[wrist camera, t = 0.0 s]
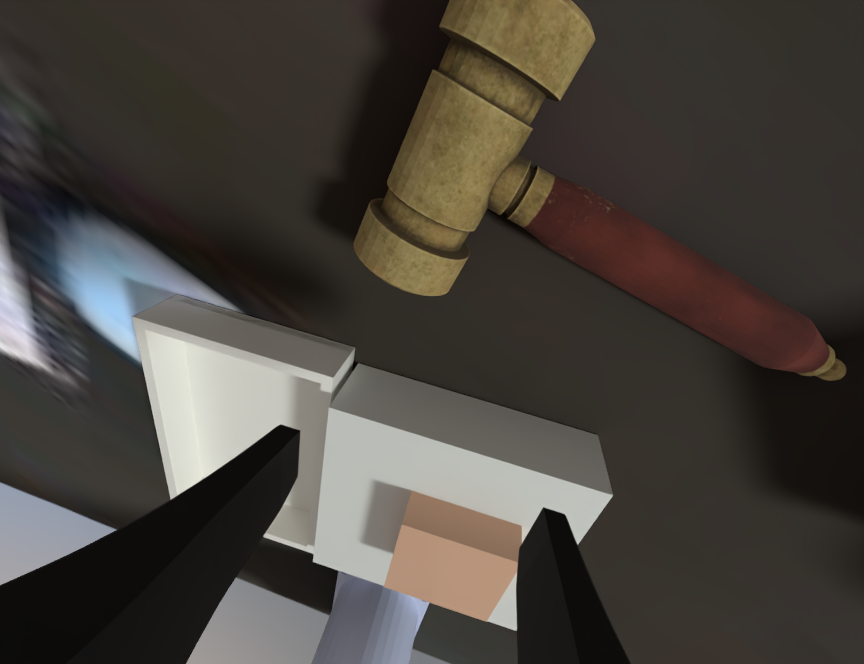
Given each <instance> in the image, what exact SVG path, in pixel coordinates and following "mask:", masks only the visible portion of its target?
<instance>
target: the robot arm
mask: <svg viewBox="0 0 864 664" xmlns="http://www.w3.org/2000/svg"><path fill="white" fill-rule="evenodd" d="M299 447H300V430H297V429H294V428H291V427H288V426H285V425H281V424H280V425H278V426H277V427H275V428H274V429H273V430H271V431H270V432H269V433H267V434H266V435H265V436H263V437H262V438H261V439H259V440H258V441H257V442H255V443H254V444H253V445H251V446H250V447H249V448H247V449H246V450H244V451H243V452H242V453H240V454H239V455H237V456H236V457H235V458H233V459H232V460H230V461H229V462H227V463H226V464H225V465H223V466H222V467H220V468H219V469H217V470H216V471H214V472H213V473H211V474H210V475H209V476H207V477H206V478H204V479H202V480H201V481H199V482H198V483H196V484H195V485H193V486H191V487H190V488H188V489H187V490H185V491H184V492H182V493H180V494H179V495H177V496H176V497H174V498H172V499H171V500H169V501H168V502H166V503H164V504H163V505H161V506H159V507H157V508H156V509H154V510H152V511H151V512H149V513H147V514H145V515H144V516H142V517H140V518H138V519H136V520H135V521H133V522H131V523H129V524H127V525H126V526H124V527H122V528H120V529H118V530H116V531H114V532H112V533H110V534H108V535H106V536H104V537H103V538H101V539H99V540H97V541H95V542H93V543H91V544H89V545H87V546H85V547H83V548H81V549H79V550H77V551H75V552H73V553H71V554H69V555H67V556H64V557H62V558H60V559H58V560H56V561H54V562H51V563H49V564H47V565H45V566H42V567H40V568H38V569H36V570H34V571H31V572H29V573H27V574H25V575H22V576H20V577H18V578H16V579H14V580H11V581H9V582H7V583H4V584H2V585H0V664H186V662H187V660H188V659H189V657H190V655H191V653H192V651H193V649H194V647H195V646H196V643H197V642H198V640H199V638H200V637H201V635H202V633H203V631H204V630H205V628H206V626H207V624H208V622H209V621H210V619H211V617H212V615H213V613H214V611H215V610H216V608H217V606H218V605H219V603H220V601H221V600H222V598H223V596H224V595H225V593H226V592H227V590H228V588H229V587H230V585H231V584H232V582H233V581H234V579H235V578H236V576H237V575H238V573H239V572H240V570H241V569H242V567H243V566H244V564H245V563H246V561H247V560H248V558H249V557H250V555H251V554H252V552H253V551H254V549H255V548H256V546H257V545H258V543H259V542H260V540H261V539H262V537H263V536H264V534H265V533H266V531H267V530H268V528H269V527H270V525H271V524H272V522H273V521H274V519H275V518H276V516H277V515H278V513H279V512H280V510H281V508H282V506H283V504H284V502H285V501H286V499H287V497H288V495H289V493H290V491H291V489H292V487H293V485H294V483H295V481H296V479H297V477H298V465H299ZM428 605H429V602H427V601H424V600H421V599H418V598H415V597H412V596H409V595H406V594H403V593H400V592H397V591H394V590H391V589H388V588H386V587H384V586H383V585H380V584H377V583H374V582H371V581H368V580H365V579H362V578H359V577H356V576H353V575H350V574H347V573H344V572H341V571H338V577H337V583H336V589H335V595H334V600H333V606H332V611H331V614H330V616H329V619H328V622H327V625H326V627H325V630H324V632H323V635H322V638H321V640H320V643H319V645H318V648H317V650H316V653H315V656H314V658H313V661H312V664H409V661H410V656H411V651H412V646H413V641H414V637H415V635H416V633H417V630H418V628H419V626H420V623H421V621H422V619H423V616H424V614H425V612H426V609H427V607H428ZM516 611H517V646H518V664H631V663H630V661H629V659H628V657H627V655H626V653H625V651H624V649H623V647H622V645H621V643H620V640H619V638H618V636H617V634H616V632H615V630H614V628H613V626H612V624H611V622H610V620H609V617H608V615H607V613H606V611H605V609H604V606H603V604H602V602H601V600H600V597H599V595H598V593H597V591H596V588H595V586H594V584H593V582H592V579H591V577H590V574H589V572H588V570H587V567H586V565H585V562H584V560H583V557H582V555H581V553H580V550H579V548H578V545H577V542H576V540H575V537H574V535H573V532H572V530H571V527H570V525H569V522H568V519H567V517H566V515H565V514H563V513H560V512H557V511H554V510H550V509H547V508H544V507H543V508H542V510H541V512H540V514H539V515H538V517H537V519H536V520H535V522H534V524H533V526H532V527H531V529H530V531H529V532H528V534H527V536H526V537H525V539H524V541H523V543H522V544H521V546H520V548H519V556H518V567H517V581H516Z"/></svg>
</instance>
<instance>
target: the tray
mask: <svg viewBox="0 0 864 664" xmlns="http://www.w3.org/2000/svg"><path fill="white" fill-rule="evenodd" d="M132 318H133V323H134V327H135V332H136V337H137V342H138V346H139V351H140V356H141V361H142V365H143V370H144V375H145V379H146V384H147V389H148V394H149V398H150V403H151V408H152V413H153V417H154V422H155V427H156V432H157V436H158V441H159V446H160V450H161V455H162V460H163V465H164V469H165V474H166V479H167V484H168V488H169V493H170V498H171V499H172V498H174V497H176V496H177V495H179V494H180V493H182V492H184V491H185V490H187V489H188V488H190V487H191V486H193V485H195V484H196V483H198V482H199V481H201V480H202V479H204V478H206V477H207V476H209V475H210V474H211V473H213V472H214V471H216V470H217V469H219V468H220V467H222V466H223V465H225V464H226V463H227V462H229V461H230V460H232V459H233V458H235V457H236V456H237V455H239V454H240V453H242V452H243V451H244V450H246V449H247V448H249V447H250V446H251V445H253V444H254V443H255V442H257V441H258V440H259V439H261V438H262V437H263V436H265V435H266V434H267V433H269V432H270V431H271V430H273V429H274V428H275V427H277V426H278V425H280V424H281V425H285V426H288V427H291V428H294V429H297V430H300V447H299V465H298V477H297V479H296V481H295V483H294V485H293V487H292V489H291V491H290V493H289V495H288V497H287V499H286V501H285V502H284V504H283V506H282V508H281V510H280V512H279V513H278V515H277V516H276V518H275V519H274V521H273V522H272V524H271V525H270V527H269V528H268V530H267V531H266V533H265V534H264V536H263V537H265V538H268V539H271V540H274V541H277V542H280V543H283V544H286V545H289V546H292V547H295V548H298V549H301V550H304V551H307V552H310V553H313V554H314V547H315V537H316V528H317V518H318V508H319V498H320V488H321V479H322V469H323V459H324V449H325V440H326V430H327V420H328V410H329V406H330V405H331V403H332V402H333V400H334V399H335V397H336V396H337V394H338V393H339V391H340V390H341V388H342V387H343V385H344V384H345V382H346V381H347V379H348V378H349V376H350V375H351V373H352V369H353V361H354V354H355V347H352V346H349V345H345V344H342V343H339V342H335V341H332V340H329V339H325V338H322V337H319V336H315V335H312V334H308V333H305V332H302V331H298V330H295V329H292V328H288V327H285V326H282V325H278V324H275V323H272V322H268V321H265V320H262V319H258V318H255V317H251V316H248V315H245V314H241V313H238V312H235V311H231V310H228V309H225V308H221V307H218V306H215V305H211V304H208V303H205V302H201V301H198V300H194V299H191V298H188V297H184V296H181V295H178V294H176V295H174V296H172V297H170V298H168V299H166V300H164V301H162V302H160V303H158V304H156V305H154V306H152V307H150V308H148V309H146V310H144V311H142V312H140V313H138V314H136V315H134V316H132Z"/></svg>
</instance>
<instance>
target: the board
mask: <svg viewBox="0 0 864 664" xmlns="http://www.w3.org/2000/svg"><path fill="white" fill-rule="evenodd" d="M411 491H415V492H418V493H421V494H424V495H427V496H430V497H433V498H436V499H440V500H443V501H446V502H449V503H452V504H455V505H458V506H461V507H465V508H468V509H471V510H474V511H477V512H480V513H483V514H486V515H490V516H493V517H496V518H499V519H502V520H505V521H508V522H511V523H515V524H518V525H521V526H522V543H523V541H524V539H525V537H526V536H527V534H528V532H529V531H530V529H531V527H532V526H533V524H534V522H535V520H536V519H537V517H538V515H539V514H540V512H541V510H542V508H543V507H544V508H547V509H550V510H554V511H557V512H560V513H563V514H565V515H566V517H567V519H568V522H569V525H570V527H571V530H572V532H573V535H574V537H575V540H576V542H577V545H578V544H579V542H580V541H581V539H582V538H583V537H584V535H585V534H586V532H587V531H588V530H589V528H590V527H591V526H592V524H593V523H594V521H595V520H596V519H597V517H598V516H599V514H600V513H601V512H602V510H603V509H604V507H605V506H606V505H607V503H608V502H609V500H610V499H611V498H612V496H613V493H612V490H611V486H610V482H609V478H608V474H607V470H606V466H605V462H604V458H603V454H602V450H601V446H600V442H599V439H598V435H596V434H592V433H589V432H586V431H582V430H579V429H576V428H572V427H569V426H566V425H562V424H559V423H556V422H552V421H549V420H546V419H542V418H539V417H536V416H532V415H529V414H526V413H522V412H519V411H516V410H512V409H509V408H506V407H503V406H499V405H496V404H493V403H489V402H486V401H483V400H479V399H476V398H473V397H469V396H466V395H463V394H459V393H456V392H453V391H449V390H446V389H443V388H439V387H436V386H433V385H429V384H426V383H423V382H419V381H416V380H413V379H409V378H406V377H403V376H399V375H396V374H393V373H389V372H386V371H383V370H380V369H376V368H373V367H370V366H366V365H363V364H360V363H358V364H357V366H356V367H355V369H354V370H353V372H352V373H351V375H350V376H349V378H348V379H347V381H346V382H345V384H344V385H343V387H342V388H341V390H340V391H339V393H338V394H337V396H336V397H335V399H334V400H333V402H332V403H331V405H330V406H329V410H328V420H327V430H326V440H325V449H324V459H323V469H322V479H321V488H320V498H319V508H318V518H317V528H316V537H315V547H314V557H313V562H315V563H318V564H321V565H324V566H326V567H329V568H332V569H335V570H338V571H341V572H344V573H347V574H350V575H353V576H356V577H359V578H362V579H365V580H368V581H371V582H374V583H377V584H380V585H383V586H384V584H385V580H386V577H387V574H388V570H389V567H390V563H391V560H392V556H393V553H394V550H395V546H396V543H397V539H398V536H399V532H400V529H401V526H402V522H403V519H404V515H405V512H406V508H407V505H408V502H409V498H410V495H411ZM516 581H517V573H516V574H515V576H514V578H513V579H512V581H511V583H510V584H509V586H508V587H507V589H506V591H505V592H504V594H503V596H502V597H501V599H500V600H499V602H498V604H497V605H496V607H495V609H494V610H493V612H492V613H491V615H490V617H489V618H488V620H487V621H489V622H492V623H495V624H498V625H501V626H504V627H507V628H509V629H512V630H515V631H516V630H517V611H516Z"/></svg>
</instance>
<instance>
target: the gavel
mask: <svg viewBox="0 0 864 664" xmlns="http://www.w3.org/2000/svg"><path fill="white" fill-rule="evenodd" d="M439 28H440V29H441V30H442V31H443V32H444V33H445V34H446V35H447V36H448V37H449V38H450V42H449V44H448V47H447V49H446V51H445V54H444V56H443V59H442V61H441V63H440V66H439V68H438V70H434V69H433V70H432V72H431V75H430V77H429V80H428V82H427V85H426V87H425V90H424V92H423V94H422V97H421V99H420V102H419V104H418V107H417V109H416V112H415V114H414V117H413V119H412V121H411V124H410V126H409V129H408V131H407V134H406V136H405V139H404V141H403V143H402V146H401V148H400V151H399V153H398V156H397V158H396V161H395V163H394V165H393V168H392V170H391V173H390V175H389V178H388V180H387V185H388V187H389V189H388V191H387V194H386V196H385V198H384V199H381V198H380V199H374V200H372V201H371V202H370V203H369V205H368V208H367V210H366V213H365V215H364V218H363V220H362V223H361V225H360V228H359V230H358V233H357V235H356V238H355V241H354V249H355V252H356V254H357V256H358V257H359V259H360V260H361V261H362V262H363V263H364V264H365V266H366V267H367V268H368V269H369V270H370V271H372V272H373V273H374V274H375V275H376V276H378V277H379V278H381V279H382V280H384V281H385V282H387V283H389V284H391V285H393V286H395V287H397V288H399V289H401V290H404V291H407V292H410V293H414V294H418V295H425V296H440V295H443V294H445V293H447V292H448V291H449V290H450V288H451V286H452V284H453V283H454V281H455V279H456V278H457V276H458V274H459V272H460V271H461V269H462V267H463V266H464V264H465V262H466V260H467V259H468V257H469V255H470V250H469V248H468V246H467V244H466V243H465V242H464V241H465V239H466V238H467V236H468V234H469V232H470V231H474V230H476V228H477V226H478V224H479V223H480V221H481V219H482V217H483V216H484V214H485V212H486V210H487V209H490V210H491V211H493V212H495V213H497V214H498V215H501V214H502V213H503V212H505V213H506V214H507V216H506V218H507V219H509V220H511V221H512V222H514V223H516V224H518V225H520V226H521V227H523V228H524V229H526V230H527V231H528V232H529V233H530V234H532V235H533V236H534V237H535V238H536V239H538V240H539V241H540V242H541V243H542V244H544V245H545V246H546V247H548V248H549V249H551V250H553V251H555V252H557V253H558V254H560V255H562V256H564V257H565V258H567V259H569V260H571V261H573V262H574V263H576V264H578V265H580V266H582V267H583V268H585V269H587V270H589V271H591V272H592V273H594V274H596V275H598V276H599V277H601V278H603V279H605V280H607V281H608V282H610V283H612V284H614V285H616V286H617V287H619V288H621V289H623V290H625V291H626V292H628V293H630V294H632V295H634V296H635V297H637V298H639V299H641V300H642V301H644V302H646V303H648V304H650V305H651V306H653V307H655V308H657V309H659V310H660V311H662V312H664V313H666V314H668V315H669V316H671V317H673V318H675V319H677V320H678V321H680V322H682V323H684V324H685V325H687V326H689V327H691V328H693V329H694V330H696V331H698V332H700V333H702V334H703V335H705V336H707V337H709V338H711V339H712V340H714V341H716V342H718V343H720V344H721V345H723V346H725V347H727V348H728V349H730V350H732V351H734V352H736V353H737V354H739V355H741V356H743V357H745V358H746V359H748V360H750V361H752V362H754V363H755V364H757V365H759V366H761V367H765V368H770V369H777V370H783V371H790V372H796V373H798V374H800V375H803V376H815V375H816V376H817V377H819V378H821V379H823V380H828V381H834V380H839V379H841V378H843V377H844V376H845V374H846V366H845V365H844V364H843V362H841V361H840V360H838V359H836V358H835V352H834V350H833V348H832V347H831V346H829V345H827V344H826V342H825V341H824V339H823V338H822V336H821V334H820V333H819V331H818V330H817V328H816V326H815V325H814V323H813V322H812V321H811V320H810V319H809V318H807V317H806V316H804V315H802V314H801V313H799V312H797V311H795V310H794V309H792V308H790V307H789V306H787V305H785V304H784V303H782V302H780V301H779V300H777V299H775V298H773V297H772V296H770V295H768V294H767V293H765V292H763V291H762V290H760V289H758V288H756V287H755V286H753V285H751V284H750V283H748V282H746V281H745V280H743V279H741V278H739V277H738V276H736V275H734V274H733V273H731V272H729V271H728V270H726V269H724V268H722V267H721V266H719V265H717V264H716V263H714V262H712V261H711V260H709V259H707V258H705V257H704V256H702V255H700V254H699V253H697V252H695V251H694V250H692V249H690V248H689V247H687V246H685V245H683V244H682V243H680V242H678V241H677V240H675V239H673V238H672V237H670V236H668V235H666V234H665V233H663V232H661V231H660V230H658V229H656V228H655V227H653V226H651V225H649V224H648V223H646V222H644V221H643V220H641V219H639V218H638V217H636V216H634V215H632V214H631V213H629V212H627V211H626V210H624V209H622V208H621V207H619V206H617V205H615V204H614V203H612V202H610V201H609V200H607V199H605V198H604V197H602V196H600V195H598V194H597V193H595V192H593V191H592V190H590V189H588V188H587V187H584V186H581V185H578V184H576V183H573V182H570V181H567V180H564V179H562V178H559V177H556V176H554V175H552V174H550V173H549V172H547V171H545V170H544V169H542V168H540V167H538V166H536V167H534V168H531V167H530V164H531V161H530V160H528V159H526V158H525V157H523V156H521V155H520V154H519V152H520V151H521V149H522V147H523V145H524V144H525V142H526V140H527V138H528V137H529V135H530V133H531V131H532V130H533V129H532V127H531V126H530V124H531V122H532V121H533V119H534V117H535V115H536V114H537V112H538V110H539V108H540V106H541V105H542V103H543V101H544V99H545V98H549V99H551V100H554V101H558V102H559V101H560V100H561V98H562V96H563V95H564V93H565V91H566V90H567V88H568V86H569V84H570V83H571V81H572V79H573V78H574V76H575V74H576V72H577V71H578V69H579V67H580V66H581V64H582V62H583V60H584V59H585V57H586V55H587V54H588V52H589V50H590V49H591V47H592V45H593V43H594V42H595V36H594V33H593V29H592V26H591V24H590V22H589V20H588V18H587V17H586V16H585V14H584V13H583V12H582V11H581V10H580V9H579V8H578V7H577V6H576V4H574V3H573V2H572V1H571V0H450V1H449V3H448V6H447V8H446V11H445V13H444V16H443V18H442V21H441V23H440V26H439Z"/></svg>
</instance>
